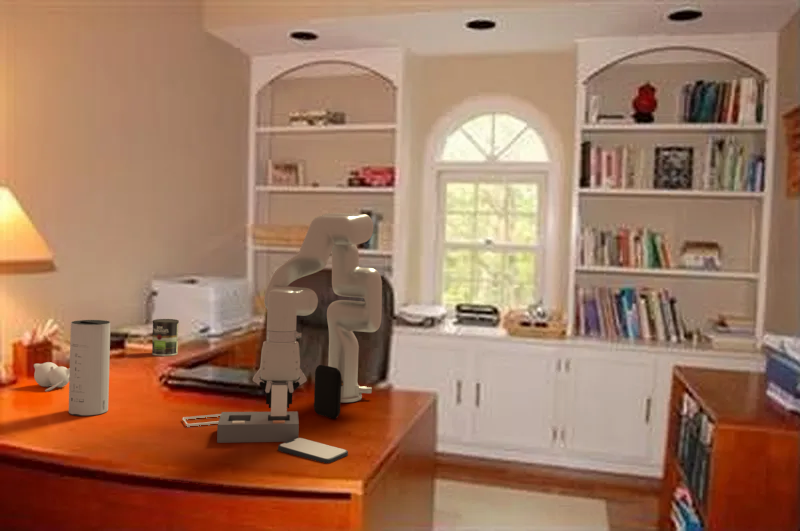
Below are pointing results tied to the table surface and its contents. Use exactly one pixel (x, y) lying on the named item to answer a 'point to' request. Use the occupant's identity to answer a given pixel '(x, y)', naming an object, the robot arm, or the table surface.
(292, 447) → the phone case
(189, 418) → the phone case
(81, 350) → the speaker
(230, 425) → the hub
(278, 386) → the plug
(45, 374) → the cat figurine
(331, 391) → the carrying case or bag
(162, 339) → the coffee can
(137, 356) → the table surface
